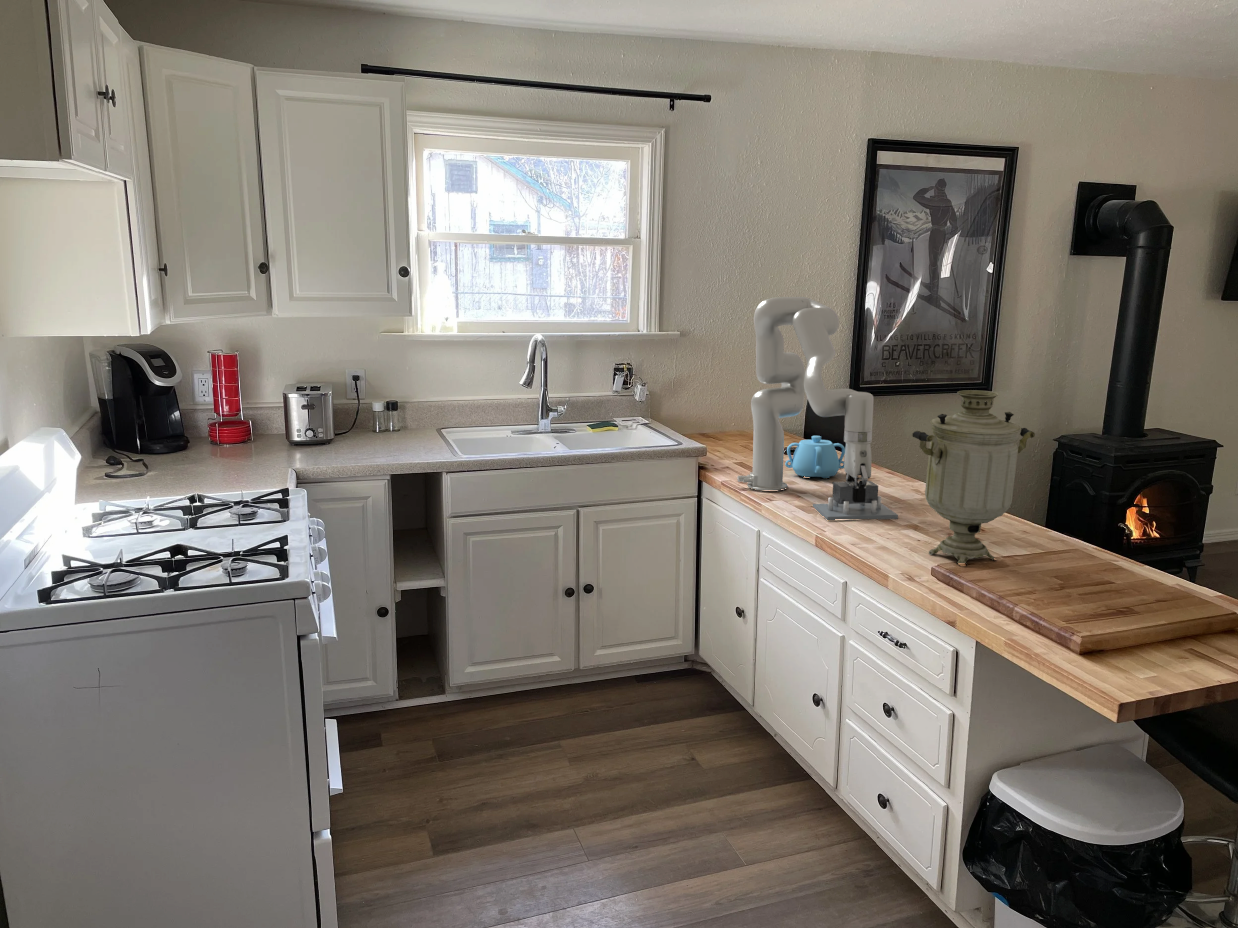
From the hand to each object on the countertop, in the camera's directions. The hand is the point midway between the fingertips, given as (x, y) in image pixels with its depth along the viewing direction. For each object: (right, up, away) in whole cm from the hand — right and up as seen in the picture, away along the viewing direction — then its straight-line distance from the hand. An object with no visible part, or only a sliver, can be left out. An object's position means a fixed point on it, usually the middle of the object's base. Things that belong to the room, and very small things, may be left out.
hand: (855, 498), depth 259 cm
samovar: (+16, -12, -36) cm, 41 cm away
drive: (0, -1, 0) cm, 1 cm away
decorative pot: (-1, +6, +48) cm, 48 cm away
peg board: (0, -4, +1) cm, 4 cm away
